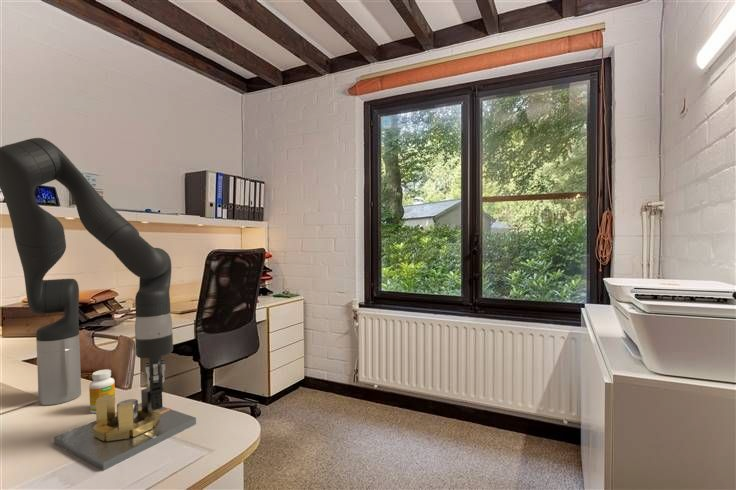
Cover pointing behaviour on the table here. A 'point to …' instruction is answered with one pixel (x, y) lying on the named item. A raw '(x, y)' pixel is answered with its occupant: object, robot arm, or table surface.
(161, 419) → the base plate
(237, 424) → the table surface
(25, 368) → the table surface
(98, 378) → the supplement bottle
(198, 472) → the table surface
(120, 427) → the gold octagonal ring
